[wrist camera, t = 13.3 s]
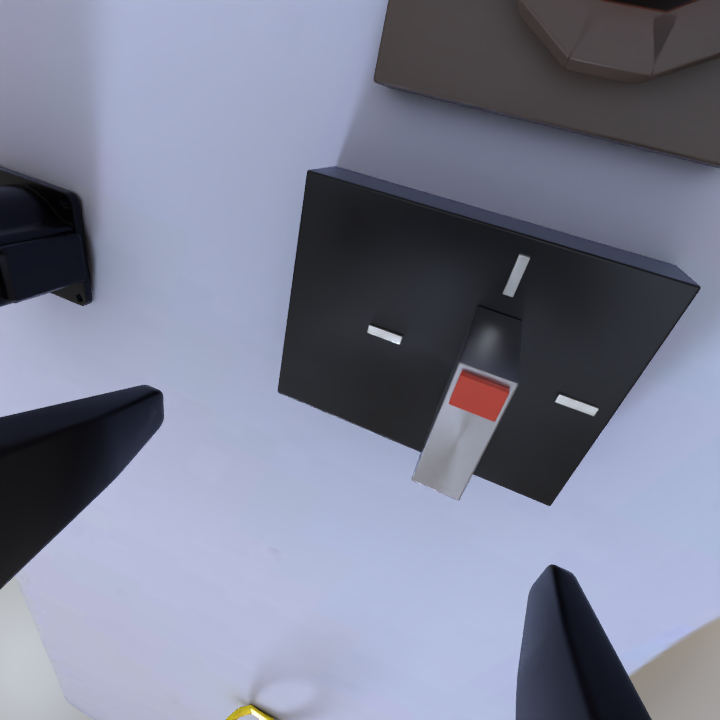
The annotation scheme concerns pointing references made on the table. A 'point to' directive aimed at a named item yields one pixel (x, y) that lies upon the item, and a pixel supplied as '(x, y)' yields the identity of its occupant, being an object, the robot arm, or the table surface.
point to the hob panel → (467, 321)
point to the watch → (248, 710)
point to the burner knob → (471, 403)
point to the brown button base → (568, 65)
